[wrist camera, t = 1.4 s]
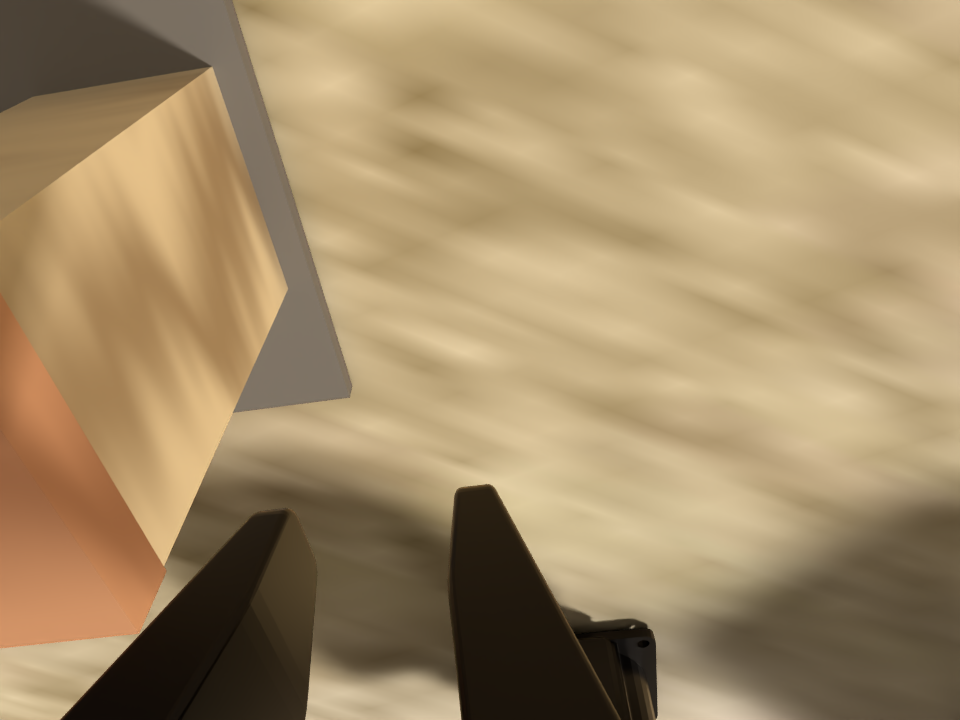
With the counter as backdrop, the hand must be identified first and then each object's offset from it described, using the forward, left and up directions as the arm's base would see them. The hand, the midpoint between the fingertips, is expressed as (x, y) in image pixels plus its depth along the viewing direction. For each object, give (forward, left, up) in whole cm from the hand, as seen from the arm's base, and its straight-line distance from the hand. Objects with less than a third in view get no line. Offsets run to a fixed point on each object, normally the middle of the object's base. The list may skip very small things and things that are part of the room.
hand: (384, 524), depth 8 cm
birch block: (0, +7, -12) cm, 14 cm away
